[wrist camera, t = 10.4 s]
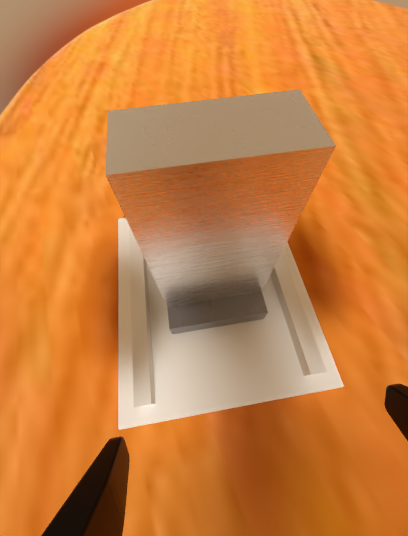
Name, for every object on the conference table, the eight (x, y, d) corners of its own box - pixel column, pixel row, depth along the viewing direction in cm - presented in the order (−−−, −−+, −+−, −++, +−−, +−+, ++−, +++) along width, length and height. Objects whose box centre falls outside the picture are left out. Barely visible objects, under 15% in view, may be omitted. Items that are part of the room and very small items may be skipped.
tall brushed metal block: (263, 319, 17) (359, 182, 6) (172, 334, 17) (104, 218, 6) (243, 248, 20) (285, 67, 9) (164, 260, 20) (108, 86, 9)
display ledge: (333, 387, 17) (354, 385, 14) (126, 427, 16) (111, 432, 13) (266, 208, 24) (273, 187, 22) (123, 228, 23) (113, 209, 21)
